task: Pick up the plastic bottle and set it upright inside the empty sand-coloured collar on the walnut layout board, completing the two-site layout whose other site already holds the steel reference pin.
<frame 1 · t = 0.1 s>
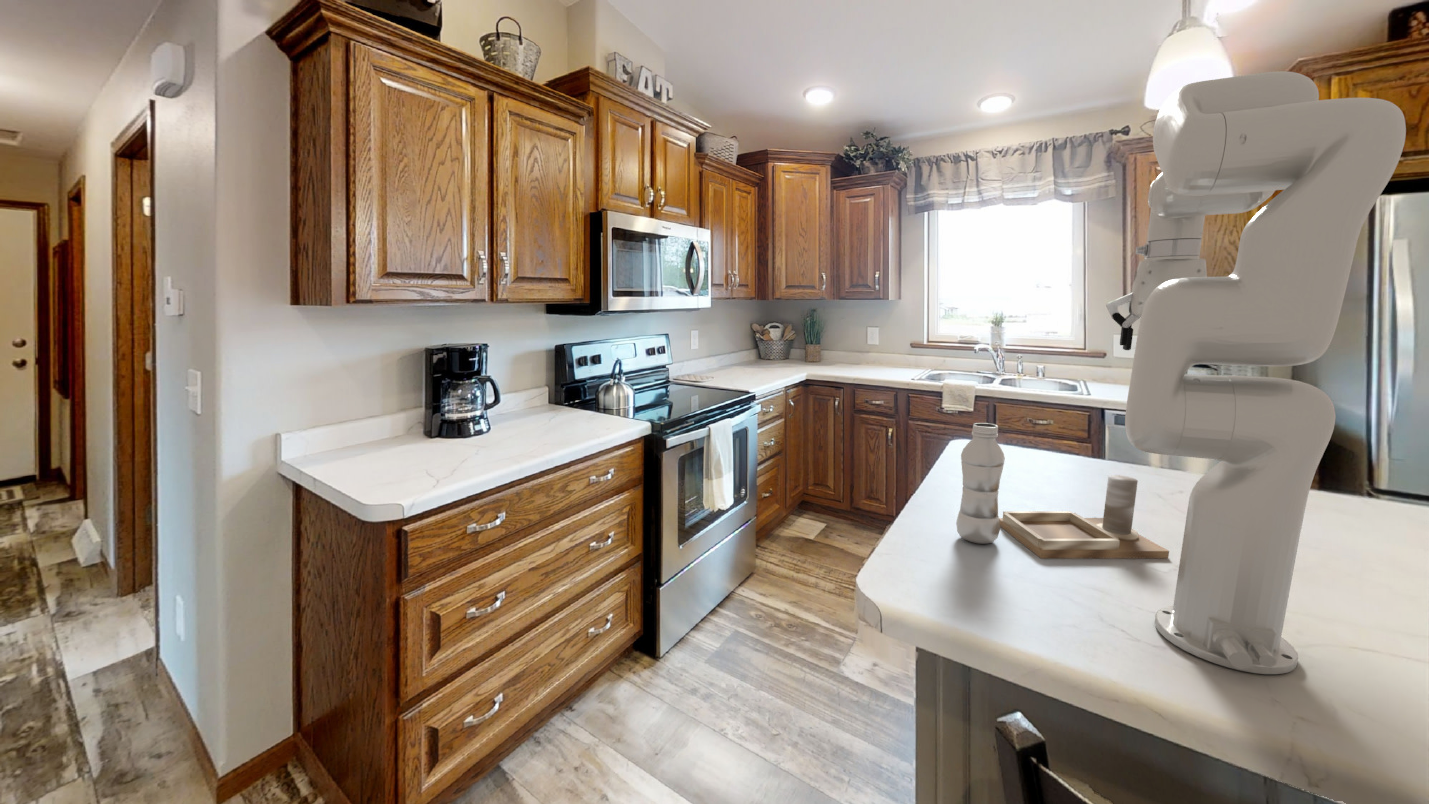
hand: (1159, 350, 102), 31 cm above the countertop, fingers open, 9 cm apart
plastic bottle: (976, 541, 96), on the countertop
layout board: (1076, 540, 96), on the countertop
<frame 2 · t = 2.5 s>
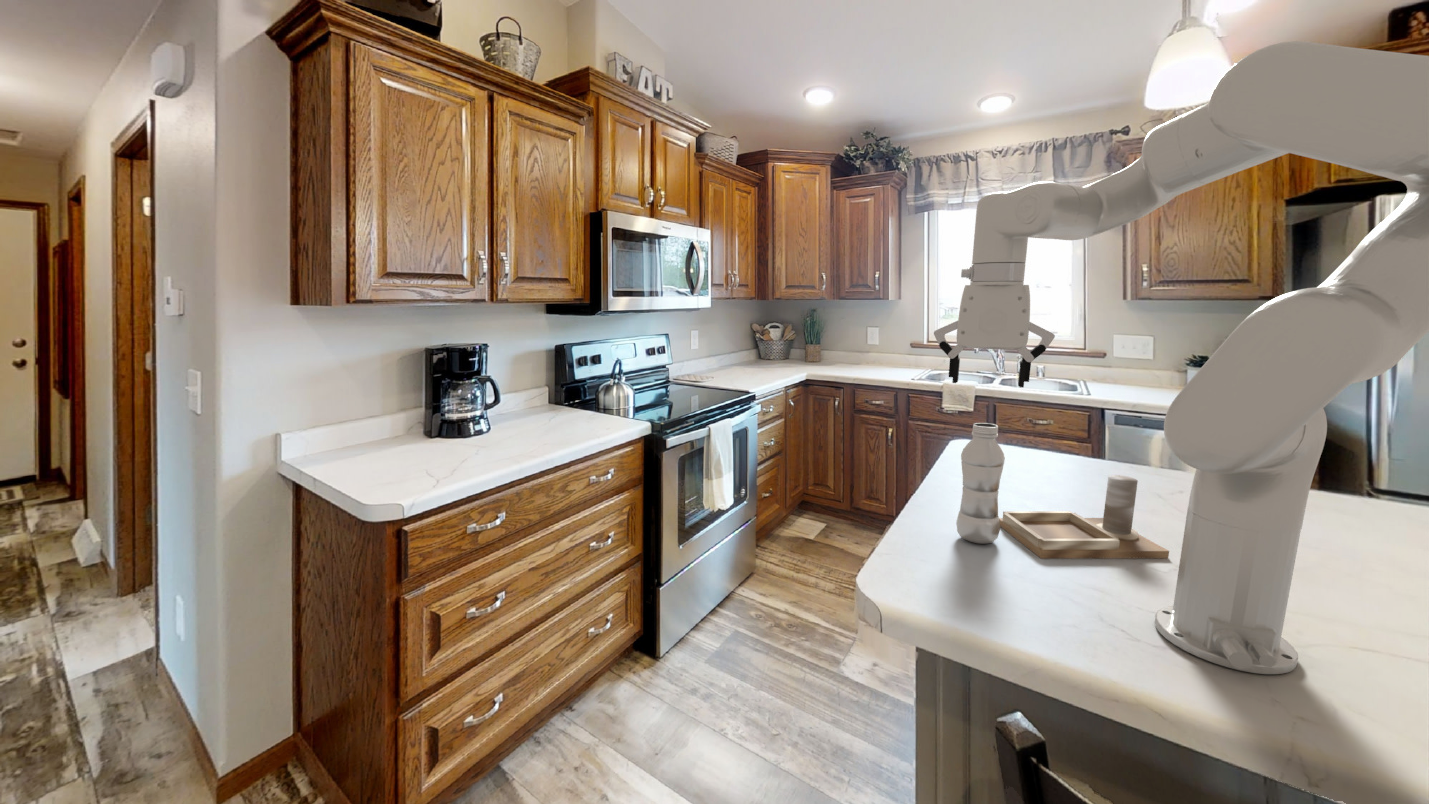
hand: (987, 384, 92), 27 cm above the countertop, fingers open, 9 cm apart
nothing on the countertop moved.
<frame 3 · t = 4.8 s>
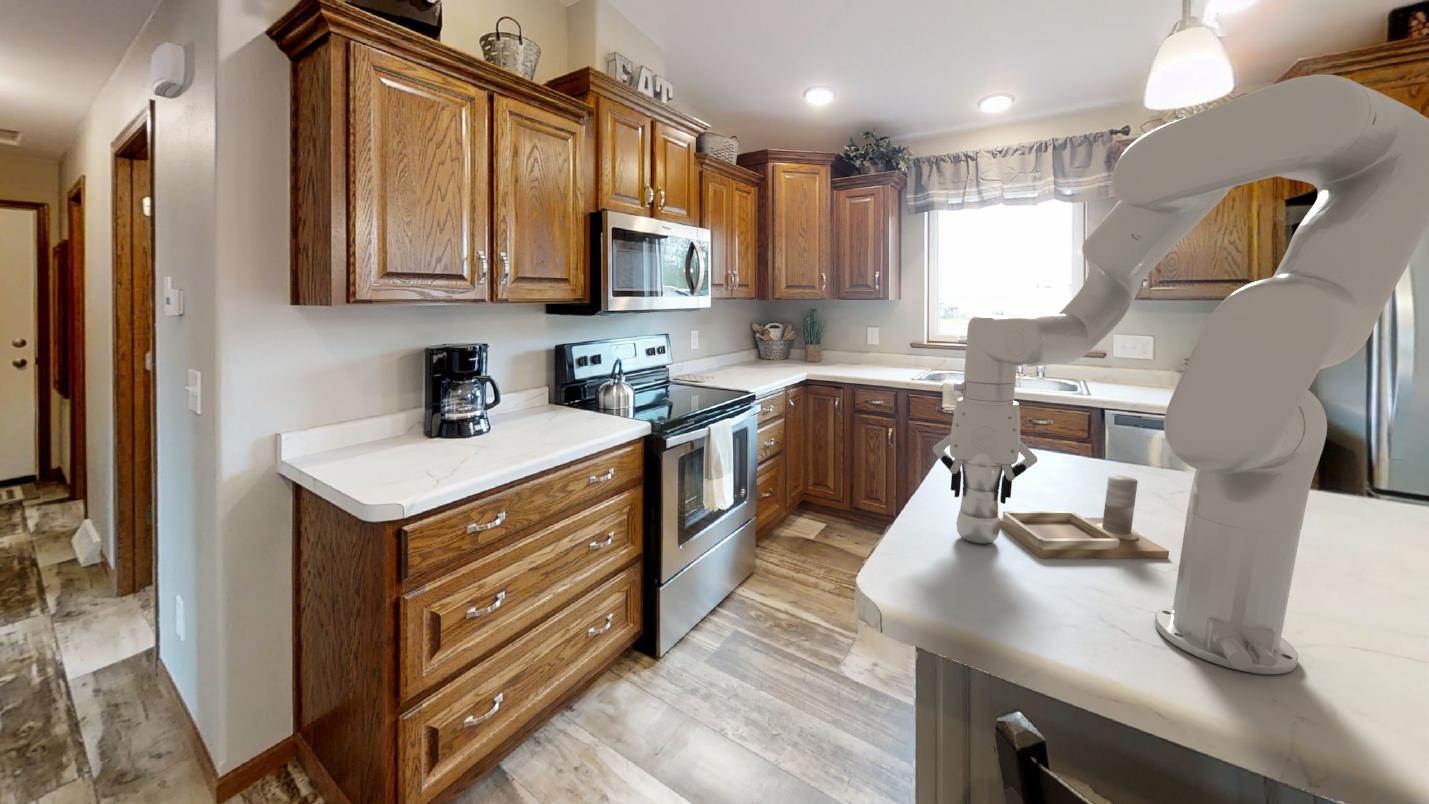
hand: (979, 497, 95), 8 cm above the countertop, fingers closed on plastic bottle, 6 cm apart
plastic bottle: (976, 541, 96), on the countertop, touching gripper
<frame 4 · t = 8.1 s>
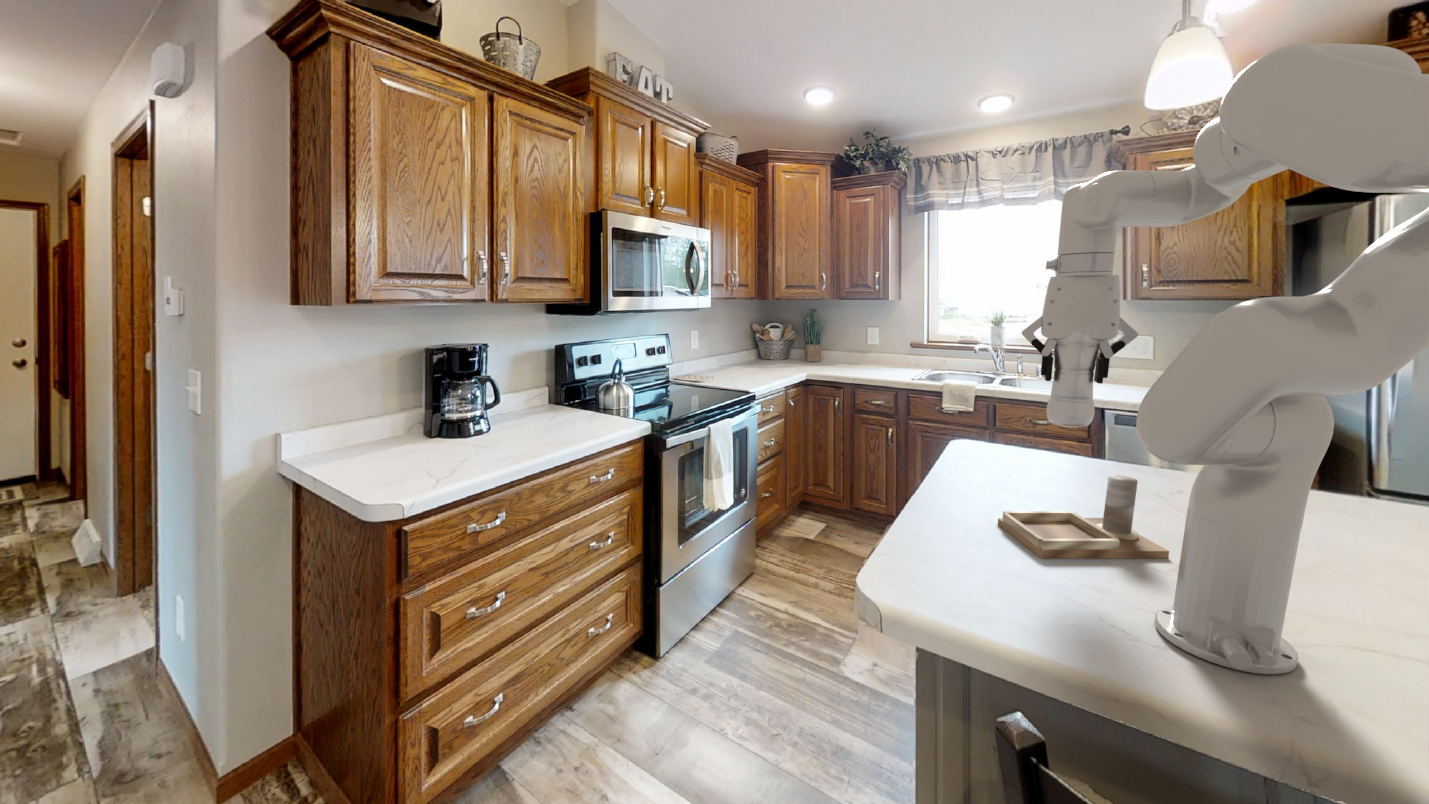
hand: (1072, 380, 92), 27 cm above the countertop, fingers closed on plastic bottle, 6 cm apart
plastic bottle: (1068, 428, 93), point 20 cm above the countertop, touching gripper
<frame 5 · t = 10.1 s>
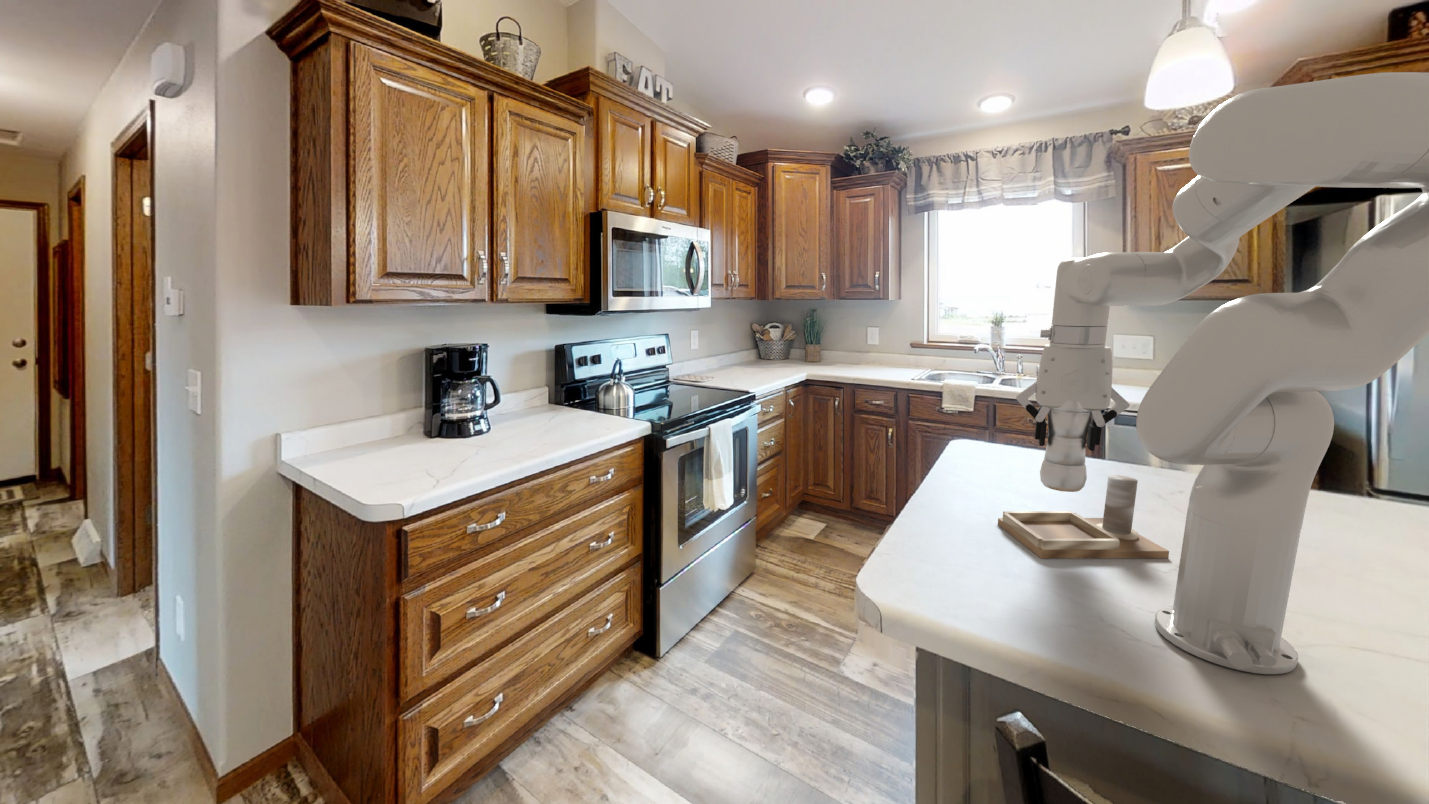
hand: (1065, 445, 94), 16 cm above the countertop, fingers closed on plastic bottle, 6 cm apart
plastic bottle: (1060, 491, 95), point 9 cm above the countertop, touching gripper
when the fingers open (10 cm above the countertop, at t = 11.9 s): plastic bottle drops 1 cm, resting on layout board.
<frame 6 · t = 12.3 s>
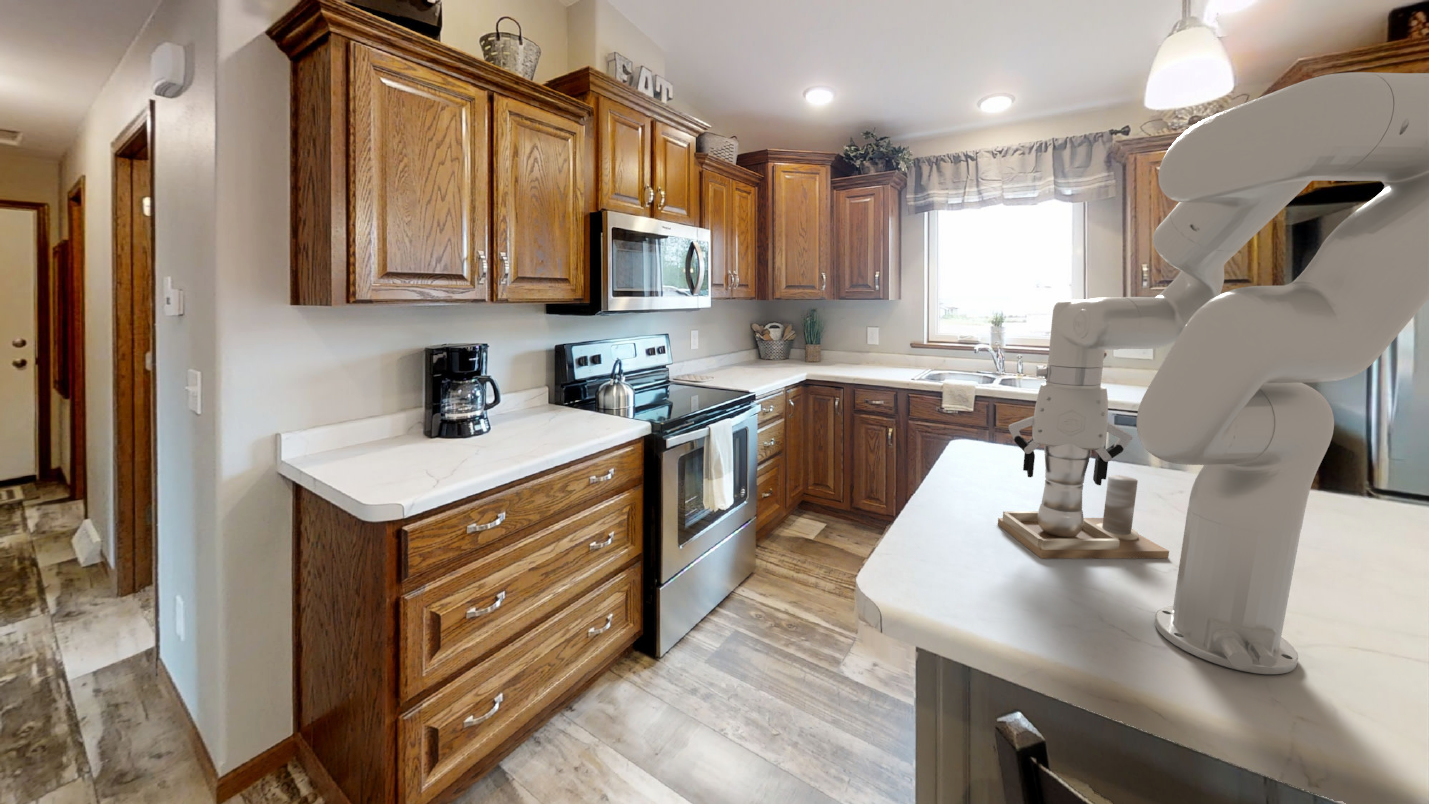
hand: (1062, 478, 95), 11 cm above the countertop, fingers open, 9 cm apart
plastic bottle: (1058, 534, 96), point 1 cm above the countertop, touching layout board
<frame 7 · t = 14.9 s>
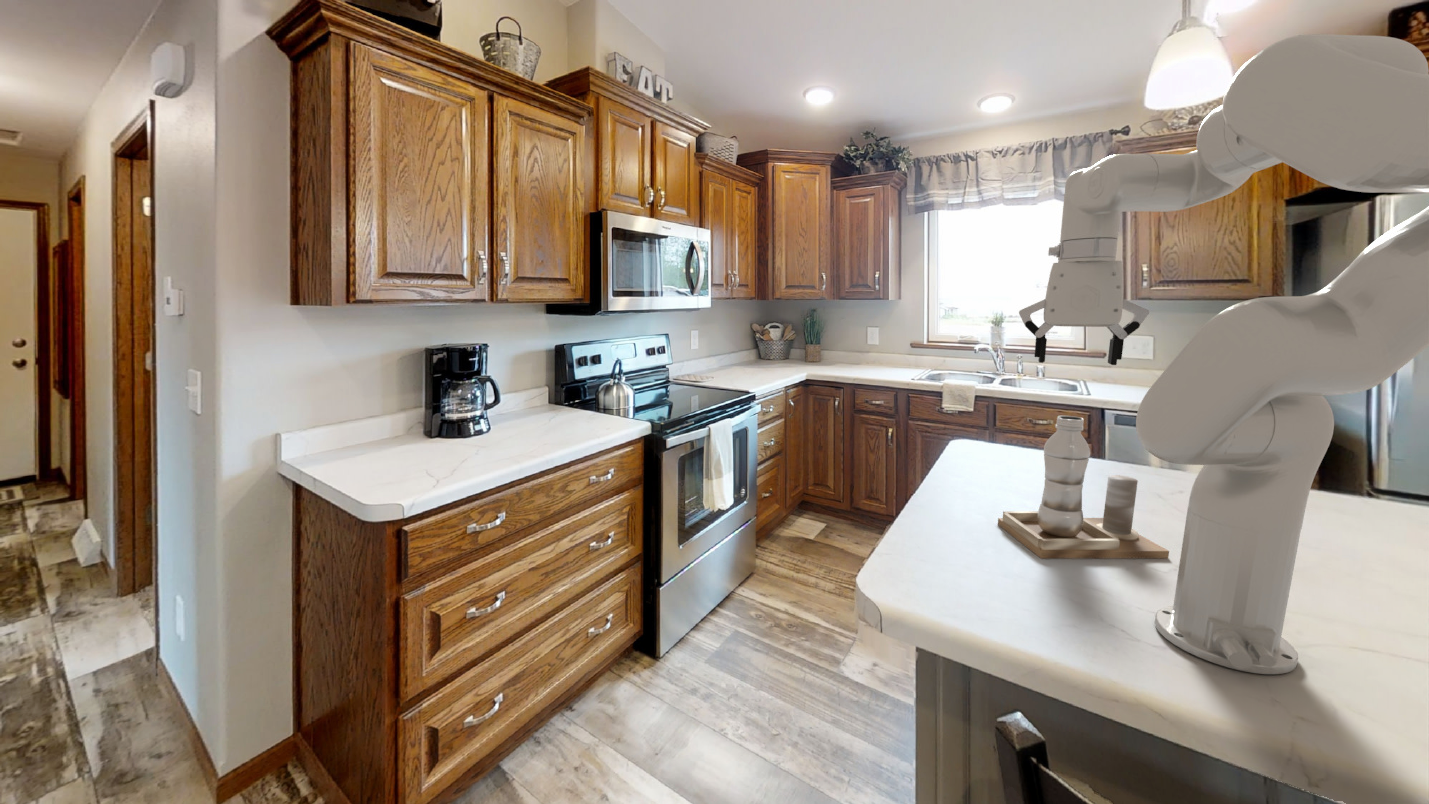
hand: (1075, 363, 91), 30 cm above the countertop, fingers open, 9 cm apart
nothing on the countertop moved.
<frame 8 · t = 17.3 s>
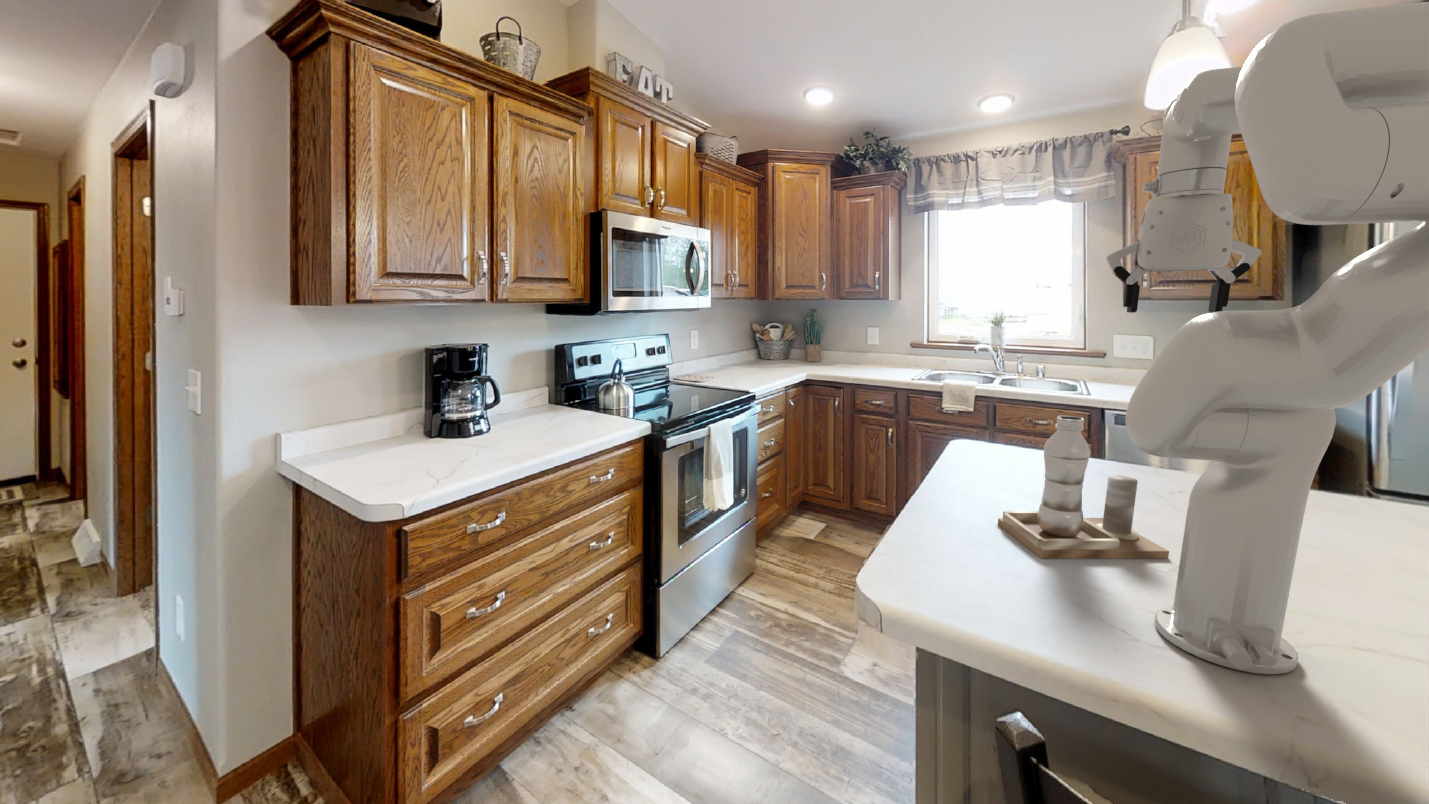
hand: (1172, 312, 82), 38 cm above the countertop, fingers open, 9 cm apart
nothing on the countertop moved.
at the end: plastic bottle 0.2 cm from the target spot, point 1.0 cm above the countertop; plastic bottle tilted 0°; the gripper is holding nothing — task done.
